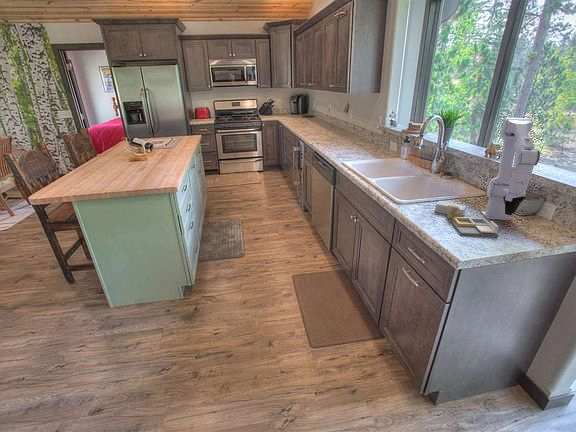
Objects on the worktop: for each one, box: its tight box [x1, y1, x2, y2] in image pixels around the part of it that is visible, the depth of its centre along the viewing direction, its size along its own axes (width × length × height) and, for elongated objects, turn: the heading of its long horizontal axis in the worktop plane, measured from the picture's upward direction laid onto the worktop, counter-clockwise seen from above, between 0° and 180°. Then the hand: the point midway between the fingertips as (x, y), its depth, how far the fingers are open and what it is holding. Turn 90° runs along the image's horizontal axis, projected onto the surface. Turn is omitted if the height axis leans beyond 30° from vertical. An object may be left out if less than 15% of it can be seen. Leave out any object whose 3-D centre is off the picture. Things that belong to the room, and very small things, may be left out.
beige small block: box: [446, 205, 459, 221], centre depth 139 cm, size 4×4×6 cm
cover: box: [476, 220, 499, 234], centre depth 125 cm, size 6×5×3 cm
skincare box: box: [434, 200, 467, 217], centre depth 145 cm, size 6×4×12 cm
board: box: [449, 216, 499, 238], centre depth 130 cm, size 14×14×2 cm
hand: (509, 213), depth 122 cm, fingers closed
